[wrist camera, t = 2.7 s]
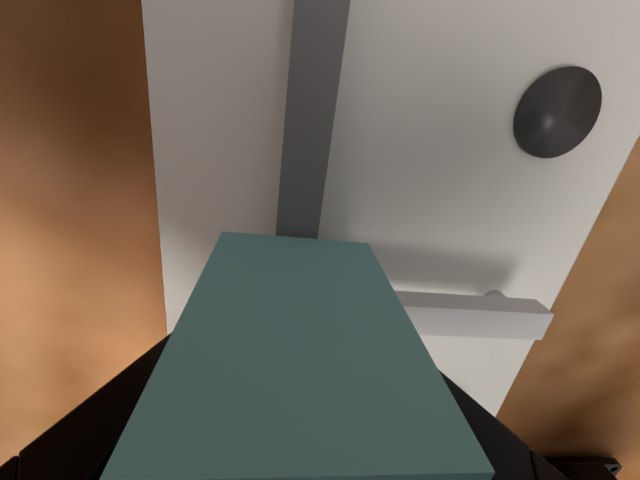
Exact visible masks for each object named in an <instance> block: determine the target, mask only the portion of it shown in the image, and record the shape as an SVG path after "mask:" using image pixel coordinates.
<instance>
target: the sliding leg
mask: <svg viewBox="0 0 640 480" xmlns="http://www.w3.org/2000/svg"><path fill="white" fill-rule="evenodd" d="M554 315H555V314H554V313H552V312H551V311H550V310H549V309H547V308H546V307H545V306H544V305H543V304H541V303H540V302H539V301H538V300H536V299H526V298H509V297H506V296H505V295H504V294H503V293H502V292H501V291H499V290H491V291H489V292H487V293H486V294H484V296H477V295H460V294H444V293H428V292H411V291H395V290H394V289H393V287H392V286H391V284H390V282H389V280H388V279H387V277H386V275H385V273H384V271H383V270H382V268H381V266H380V264H379V262H378V261H377V259H376V257H375V255H374V253H373V252H372V250H371V248H370V246H369V244H368V243H359V242H347V241H335V240H322V239H310V238H298V237H286V236H274V235H262V234H249V233H237V232H225V231H222V233H221V235H220V237H219V239H218V241H217V243H216V245H215V247H214V249H213V251H212V253H211V255H210V257H209V259H208V261H207V263H206V265H205V267H204V269H203V271H202V273H201V275H200V277H199V279H198V281H197V283H196V285H195V287H194V289H193V291H192V293H191V295H190V297H189V299H188V301H187V303H186V305H185V307H184V309H183V311H182V313H181V315H180V318H179V320H178V322H177V324H176V326H175V328H174V330H173V332H172V334H171V336H170V338H169V340H168V342H167V344H166V346H165V348H164V350H163V352H162V354H161V356H160V358H159V360H158V362H157V364H156V366H155V368H154V370H153V372H152V374H151V376H150V378H149V380H148V382H147V384H146V386H145V388H144V390H143V392H142V394H141V396H140V398H139V400H138V402H137V404H136V407H135V409H134V411H133V413H132V415H131V417H130V419H129V421H128V423H127V425H126V427H125V429H124V431H123V433H122V435H121V437H120V439H119V441H118V443H117V445H116V447H115V449H114V451H113V453H112V455H111V457H110V459H109V461H108V463H107V465H106V467H105V469H104V471H103V473H102V475H101V477H100V479H99V480H491V479H492V478H493V476H494V474H495V471H494V469H493V467H492V465H491V464H490V462H489V460H488V458H487V456H486V455H485V453H484V451H483V449H482V447H481V446H480V444H479V442H478V440H477V438H476V437H475V435H474V433H473V431H472V429H471V428H470V426H469V424H468V422H467V420H466V419H465V417H464V415H463V413H462V411H461V410H460V408H459V406H458V404H457V402H456V401H455V399H454V397H453V395H452V393H451V392H450V390H449V388H448V386H447V384H446V383H445V381H444V379H443V377H442V376H441V374H440V372H439V370H438V368H437V367H436V365H435V363H434V361H433V359H432V358H431V356H430V354H429V352H428V350H427V349H426V347H425V345H424V343H423V341H422V340H421V338H420V336H419V335H432V336H456V337H480V338H504V339H529V340H542V338H543V336H544V334H545V332H546V330H547V328H548V326H549V324H550V322H551V320H552V319H553V317H554Z"/></svg>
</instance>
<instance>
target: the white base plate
mask: <svg viewBox="0 0 640 480" xmlns="http://www.w3.org/2000/svg"><path fill="white" fill-rule="evenodd" d="M141 2H142V15H143V28H144V40H145V53H146V66H147V79H148V91H149V104H150V117H151V130H152V142H153V155H154V168H155V181H156V193H157V206H158V219H159V232H160V244H161V257H162V270H163V283H164V295H165V308H166V321H167V334H168V335H169V334H170V333H171V332H173V330H174V328H175V326H176V324H177V322H178V320H179V318H180V315H181V313H182V311H183V309H184V307H185V305H186V303H187V301H188V299H189V297H190V295H191V293H192V291H193V289H194V287H195V285H196V283H197V281H198V279H199V277H200V275H201V273H202V271H203V269H204V267H205V265H206V263H207V261H208V259H209V257H210V255H211V253H212V251H213V249H214V247H215V245H216V243H217V241H218V239H219V237H220V235H221V233H222V231H225V232H237V233H249V234H262V235H274V236H286V237H298V238H310V239H322V240H335V241H347V242H359V243H368V244H369V246H370V248H371V250H372V252H373V253H374V255H375V257H376V259H377V261H378V262H379V264H380V266H381V268H382V270H383V271H384V273H385V275H386V277H387V279H388V280H389V282H390V284H391V286H392V287H393V289H394V290H395V291H411V292H428V293H444V294H460V295H477V296H484V294H486V293H487V292H489V291H491V290H499V291H501V292H502V293H503V294H504V295H505V296H506V297H509V298H526V299H536V300H538V301H539V302H540V303H541V304H543V305H544V306H545V307H546V308H547V309H549V310H550V309H551V307H552V305H553V303H554V301H555V299H556V297H557V295H558V293H559V291H560V289H561V287H562V285H563V284H564V282H565V280H566V278H567V276H568V274H569V272H570V270H571V268H572V266H573V264H574V262H575V260H576V258H577V256H578V254H579V252H580V250H581V248H582V246H583V244H584V242H585V240H586V238H587V236H588V234H589V233H590V231H591V229H592V227H593V225H594V223H595V221H596V219H597V217H598V215H599V213H600V211H601V209H602V207H603V205H604V203H605V201H606V199H607V197H608V195H609V193H610V191H611V189H612V187H613V185H614V184H615V182H616V180H617V178H618V176H619V174H620V172H621V170H622V168H623V166H624V164H625V162H626V160H627V158H628V156H629V154H630V152H631V150H632V148H633V146H634V144H635V142H636V140H637V138H638V136H639V135H640V0H141ZM419 336H420V338H421V340H422V341H423V343H424V345H425V347H426V349H427V350H428V352H429V354H430V356H431V358H432V359H433V361H434V363H435V365H436V367H437V368H438V369H439V370H440V371H441V372H442V373H443V374H445V375H446V376H447V377H448V378H449V379H451V380H452V381H453V382H454V383H455V384H456V385H458V386H459V387H460V388H461V389H462V390H464V391H465V392H466V393H467V394H468V395H469V396H471V397H472V398H473V399H474V400H475V401H476V402H478V403H479V404H480V405H481V406H482V407H484V408H485V409H486V410H487V411H488V412H489V413H491V414H492V415H493V416H494V417H496V415H497V413H498V411H499V409H500V407H501V405H502V403H503V401H504V399H505V397H506V395H507V393H508V391H509V389H510V387H511V385H512V383H513V382H514V380H515V378H516V376H517V374H518V372H519V370H520V368H521V366H522V364H523V362H524V360H525V358H526V356H527V354H528V352H529V350H530V348H531V346H532V344H533V342H534V340H529V339H504V338H480V337H456V336H432V335H419Z"/></svg>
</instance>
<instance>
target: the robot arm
mask: <svg viewBox="0 0 640 480" xmlns="http://www.w3.org/2000/svg"><path fill="white" fill-rule="evenodd" d="M171 334H172V332H171V333H170V334H169V335H168V336H166V337H165V338H164V339H163V340H161V341H160V342H159V343H157V344H156V345H155V346H154V347H152V348H151V349H150V350H149V351H147V352H146V353H145V354H143V355H142V356H141V357H140V358H138V359H137V360H136V361H134V362H133V363H132V364H131V365H129V366H128V367H127V368H126V369H124V370H123V371H122V372H120V373H119V374H118V375H117V376H115V377H114V378H113V379H112V380H110V381H109V382H108V383H106V384H105V385H104V386H103V387H101V388H100V389H99V390H97V391H96V392H95V393H94V394H92V395H91V396H90V397H89V398H87V399H86V400H85V401H83V402H82V403H81V404H80V405H78V406H77V407H76V408H75V409H73V410H72V411H71V412H69V413H68V414H67V415H66V416H64V417H63V418H62V419H60V420H59V421H58V422H57V423H55V424H54V425H53V426H52V427H50V428H49V429H48V430H46V431H45V432H44V433H43V434H41V435H40V436H39V437H38V438H36V439H35V440H34V441H32V442H31V443H30V444H29V445H27V446H26V447H25V448H24V449H22V450H21V451H20V452H19V457H18V456H13V457H12V458H10V459H9V460H8V461H7V462H5V463H4V464H3V465H2V466H0V480H99V479H100V477H101V475H102V473H103V471H104V469H105V467H106V465H107V463H108V461H109V459H110V457H111V455H112V453H113V451H114V449H115V447H116V445H117V443H118V441H119V439H120V437H121V435H122V433H123V431H124V429H125V427H126V425H127V423H128V421H129V419H130V417H131V415H132V413H133V411H134V409H135V407H136V404H137V402H138V400H139V398H140V396H141V394H142V392H143V390H144V388H145V386H146V384H147V382H148V380H149V378H150V376H151V374H152V372H153V370H154V368H155V366H156V364H157V362H158V360H159V358H160V356H161V354H162V352H163V350H164V348H165V346H166V344H167V342H168V340H169V338H170V336H171ZM438 370H439V369H438ZM439 372H440V374H441V376H442V377H443V379H444V381H445V383H446V384H447V386H448V388H449V390H450V392H451V393H452V395H453V397H454V399H455V401H456V402H457V404H458V406H459V408H460V410H461V411H462V413H463V415H464V417H465V419H466V420H467V422H468V424H469V426H470V428H471V429H472V431H473V433H474V435H475V437H476V438H477V440H478V442H479V444H480V446H481V447H482V449H483V451H484V453H485V455H486V456H487V458H488V460H489V462H490V464H491V465H492V467H493V469H494V471H495V474H494V476H493V478H492V479H491V480H617V479H616V478H615V476H616V474H617V473H618V472H619V471H620V469H621V468H622V466H621V465H620V463H619V462H618V461H617V460H616V459H615V458H569V459H544V458H543V457H541V456H540V455H539V454H538V453H537V452H535V451H534V450H533V449H529V446H528V445H527V444H526V443H525V442H524V441H522V440H521V439H520V438H519V437H518V436H516V435H515V434H514V433H513V432H512V431H511V430H509V429H508V428H507V427H506V426H505V425H504V424H502V423H501V422H500V421H499V420H498V419H496V418H495V417H494V416H493V415H492V414H491V413H489V412H488V411H487V410H486V409H485V408H484V407H482V406H481V405H480V404H479V403H478V402H476V401H475V400H474V399H473V398H472V397H471V396H469V395H468V394H467V393H466V392H465V391H464V390H462V389H461V388H460V387H459V386H458V385H456V384H455V383H454V382H453V381H452V380H451V379H449V378H448V377H447V376H446V375H445V374H443V373H442V372H441V371H440V370H439Z"/></svg>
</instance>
